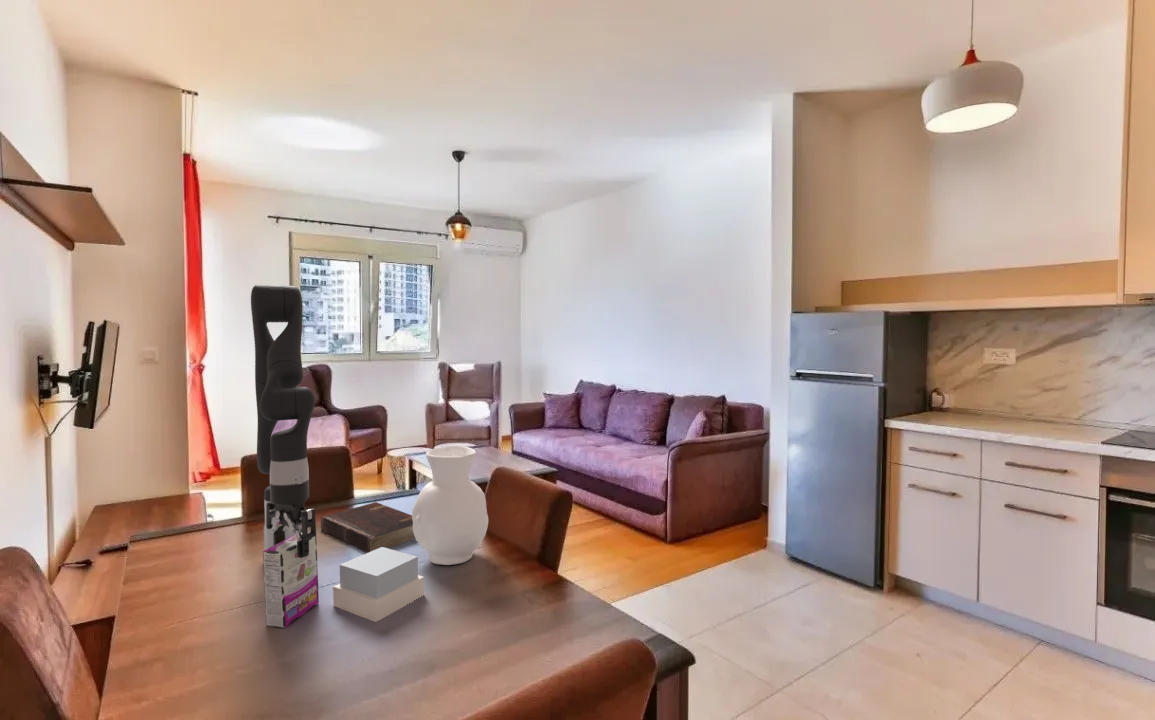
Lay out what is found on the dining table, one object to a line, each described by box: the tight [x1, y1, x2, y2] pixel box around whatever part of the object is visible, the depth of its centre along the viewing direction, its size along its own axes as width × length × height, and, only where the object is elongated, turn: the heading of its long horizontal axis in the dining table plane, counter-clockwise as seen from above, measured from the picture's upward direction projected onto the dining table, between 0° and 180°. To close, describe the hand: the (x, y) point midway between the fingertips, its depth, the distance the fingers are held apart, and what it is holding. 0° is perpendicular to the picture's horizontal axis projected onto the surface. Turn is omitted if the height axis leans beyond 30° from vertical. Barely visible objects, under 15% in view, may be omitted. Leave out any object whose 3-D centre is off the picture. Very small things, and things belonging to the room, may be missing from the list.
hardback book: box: [320, 501, 416, 553], centre depth 171 cm, size 29×19×5 cm, turn 50°
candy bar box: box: [262, 533, 320, 629], centre depth 121 cm, size 11×5×16 cm, turn 168°
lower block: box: [332, 574, 425, 623], centre depth 128 cm, size 14×14×5 cm
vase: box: [411, 445, 489, 566], centre depth 151 cm, size 19×21×30 cm
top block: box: [339, 547, 419, 599], centre depth 127 cm, size 12×12×5 cm
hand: (291, 552), depth 121 cm, fingers open, 8 cm apart
